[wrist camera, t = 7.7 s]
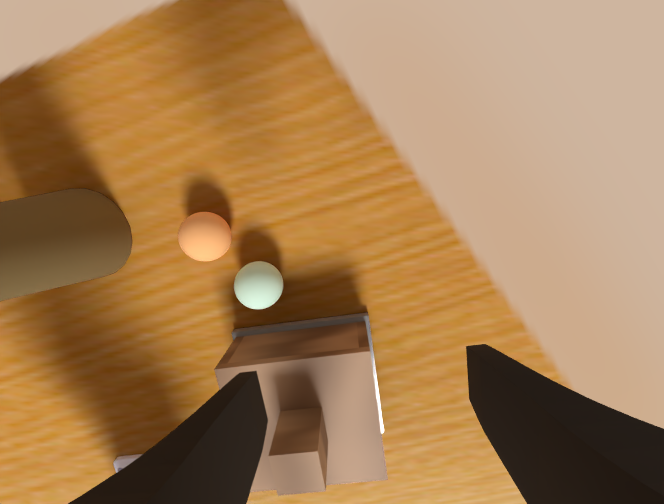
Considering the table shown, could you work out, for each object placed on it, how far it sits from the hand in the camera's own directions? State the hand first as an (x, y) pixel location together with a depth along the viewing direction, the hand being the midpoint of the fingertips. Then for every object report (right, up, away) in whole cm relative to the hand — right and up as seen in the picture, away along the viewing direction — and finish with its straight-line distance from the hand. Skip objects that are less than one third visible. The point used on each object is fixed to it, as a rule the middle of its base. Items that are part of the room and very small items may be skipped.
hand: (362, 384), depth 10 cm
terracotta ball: (-9, +6, +10) cm, 14 cm away
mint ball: (-6, +3, +10) cm, 12 cm away
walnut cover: (-3, -5, +11) cm, 13 cm away
